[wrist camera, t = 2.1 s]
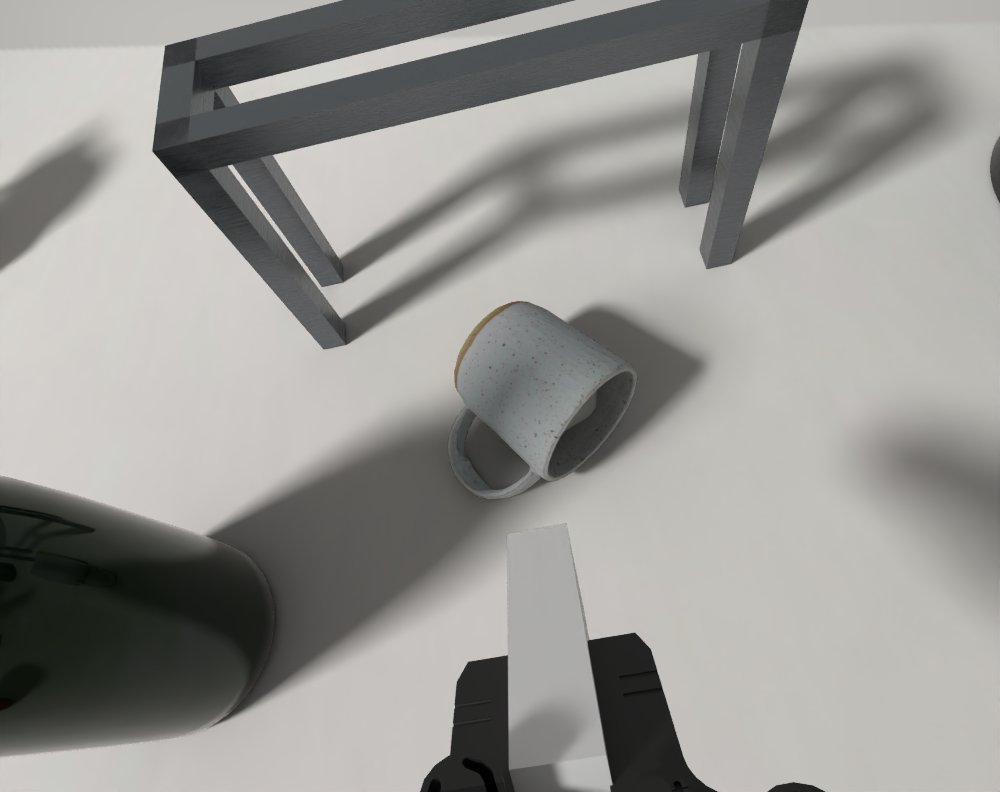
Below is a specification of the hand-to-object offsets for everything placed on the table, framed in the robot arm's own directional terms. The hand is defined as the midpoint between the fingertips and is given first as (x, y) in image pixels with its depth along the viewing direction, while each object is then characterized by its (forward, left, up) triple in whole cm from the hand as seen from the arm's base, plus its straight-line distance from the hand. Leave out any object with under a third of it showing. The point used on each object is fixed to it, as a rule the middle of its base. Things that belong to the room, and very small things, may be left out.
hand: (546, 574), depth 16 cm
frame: (0, -24, -19) cm, 31 cm away
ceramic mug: (0, -12, -20) cm, 23 cm away
